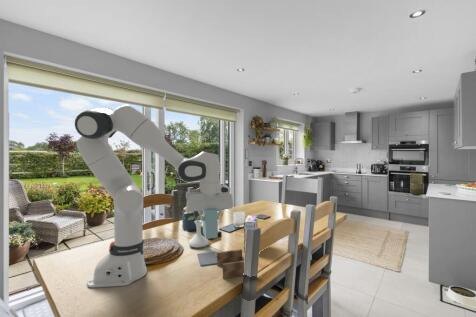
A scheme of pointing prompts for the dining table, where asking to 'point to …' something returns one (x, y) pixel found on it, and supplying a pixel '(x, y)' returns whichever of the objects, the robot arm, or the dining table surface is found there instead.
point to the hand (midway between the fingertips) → (210, 219)
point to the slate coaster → (207, 258)
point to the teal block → (210, 223)
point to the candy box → (249, 225)
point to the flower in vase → (198, 238)
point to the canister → (189, 224)
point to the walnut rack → (231, 263)
